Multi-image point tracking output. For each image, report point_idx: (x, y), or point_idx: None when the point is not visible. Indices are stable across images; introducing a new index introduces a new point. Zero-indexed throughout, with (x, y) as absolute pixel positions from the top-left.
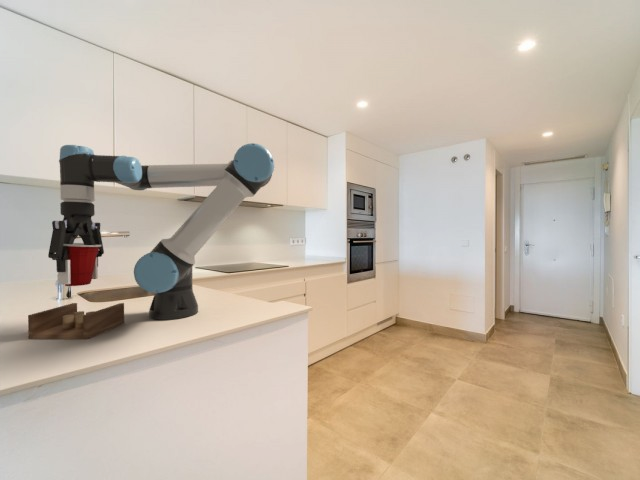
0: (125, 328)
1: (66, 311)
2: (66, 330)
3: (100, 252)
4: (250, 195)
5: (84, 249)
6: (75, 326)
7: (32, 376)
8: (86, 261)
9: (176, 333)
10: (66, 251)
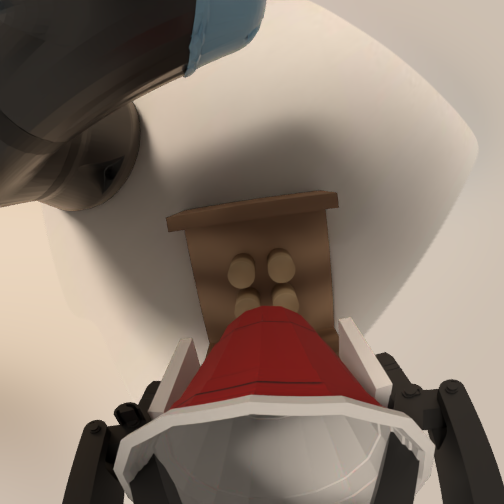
0: (225, 165)
1: None
2: (301, 279)
3: (107, 432)
4: None
5: (355, 399)
6: (268, 288)
7: (463, 134)
8: (305, 348)
9: None
10: (416, 423)
